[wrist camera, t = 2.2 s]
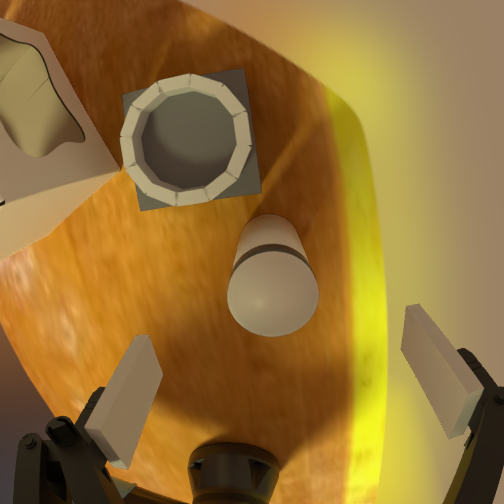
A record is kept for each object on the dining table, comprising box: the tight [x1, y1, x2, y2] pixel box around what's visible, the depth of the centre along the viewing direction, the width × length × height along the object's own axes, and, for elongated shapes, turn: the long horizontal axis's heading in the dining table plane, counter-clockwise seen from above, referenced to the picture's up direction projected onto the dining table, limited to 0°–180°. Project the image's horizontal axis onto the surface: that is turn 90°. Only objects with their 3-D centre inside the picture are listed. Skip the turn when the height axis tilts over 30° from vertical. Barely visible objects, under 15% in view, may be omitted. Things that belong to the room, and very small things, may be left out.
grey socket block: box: [120, 68, 261, 211], centre depth 25 cm, size 10×10×8 cm
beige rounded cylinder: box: [227, 214, 319, 337], centre depth 26 cm, size 6×6×12 cm
